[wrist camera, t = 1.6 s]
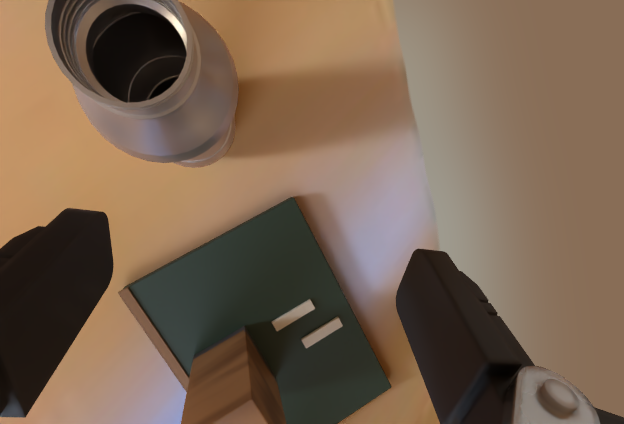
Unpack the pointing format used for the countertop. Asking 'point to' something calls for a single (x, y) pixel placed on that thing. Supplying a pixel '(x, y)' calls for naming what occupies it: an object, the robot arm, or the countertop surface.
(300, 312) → the chalk stroke
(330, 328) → the chalk stroke
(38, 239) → the robot arm
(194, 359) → the eraser
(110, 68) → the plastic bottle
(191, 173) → the countertop surface
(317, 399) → the chalkboard
